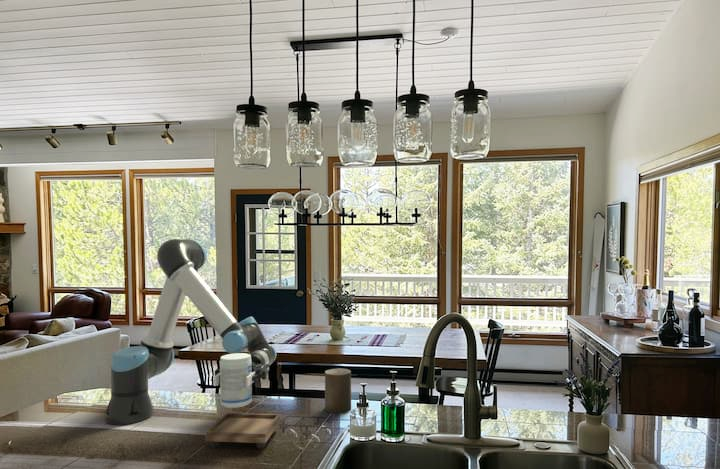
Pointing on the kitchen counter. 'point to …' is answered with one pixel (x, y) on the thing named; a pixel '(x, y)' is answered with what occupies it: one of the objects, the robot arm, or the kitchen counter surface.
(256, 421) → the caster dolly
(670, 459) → the kitchen counter surface
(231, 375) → the supplement tub
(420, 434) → the kitchen counter surface
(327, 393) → the pillar candle
